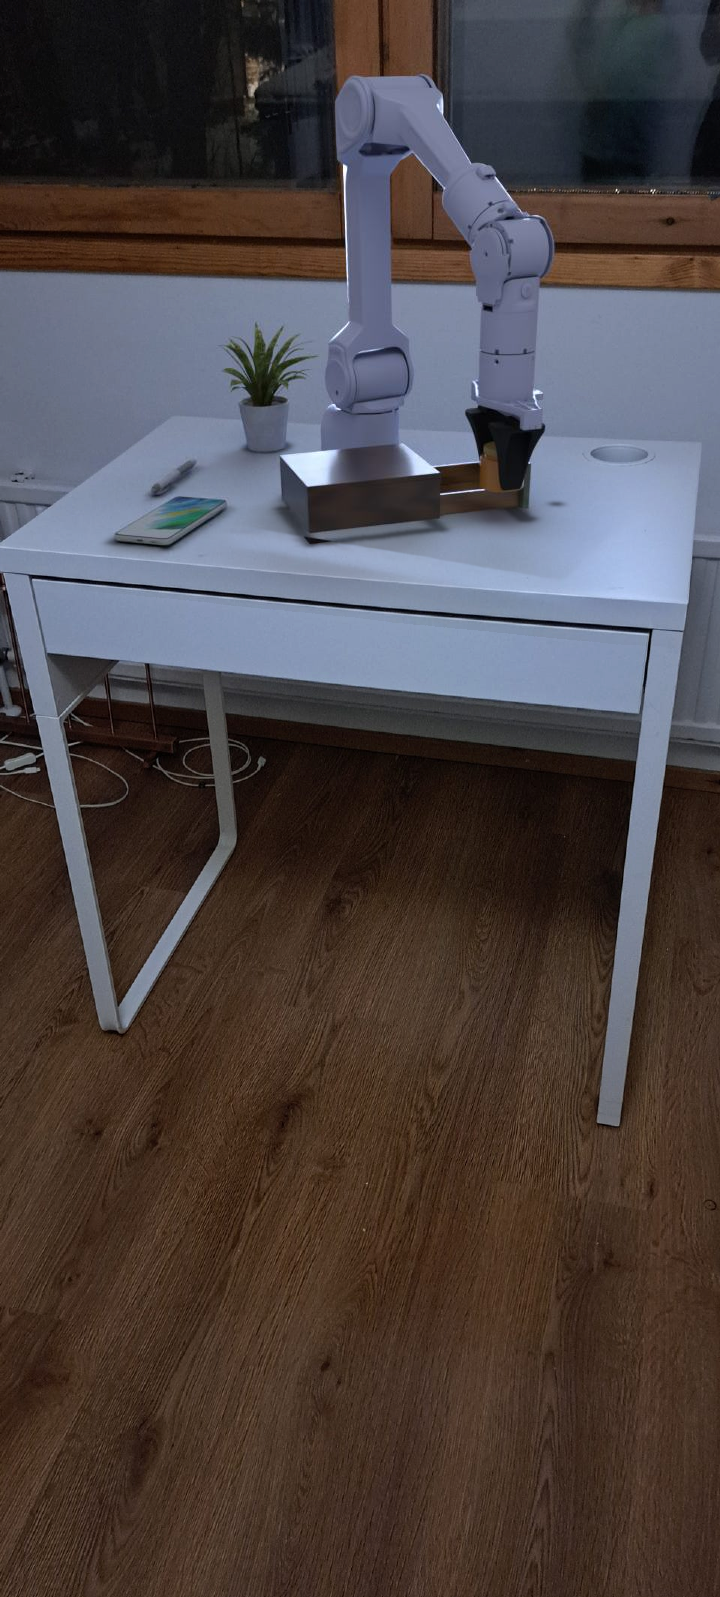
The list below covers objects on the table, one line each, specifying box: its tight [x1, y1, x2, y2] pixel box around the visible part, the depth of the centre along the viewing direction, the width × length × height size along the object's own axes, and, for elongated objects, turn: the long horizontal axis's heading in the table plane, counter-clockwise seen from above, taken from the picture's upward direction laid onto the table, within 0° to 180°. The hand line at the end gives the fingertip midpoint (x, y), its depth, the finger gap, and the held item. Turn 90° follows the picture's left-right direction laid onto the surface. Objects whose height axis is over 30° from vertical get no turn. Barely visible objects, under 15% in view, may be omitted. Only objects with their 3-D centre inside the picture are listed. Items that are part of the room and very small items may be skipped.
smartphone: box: [113, 496, 228, 546], centre depth 134 cm, size 7×1×15 cm
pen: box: [150, 458, 197, 495], centre depth 148 cm, size 1×14×1 cm, turn 164°
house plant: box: [219, 322, 319, 453], centre depth 157 cm, size 14×14×16 cm
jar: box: [479, 441, 524, 492], centre depth 124 cm, size 5×5×4 cm
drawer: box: [431, 460, 532, 516], centre depth 135 cm, size 16×13×6 cm
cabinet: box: [279, 442, 441, 545], centre depth 133 cm, size 15×13×6 cm
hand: (501, 482), depth 125 cm, fingers closed on jar, 5 cm apart
